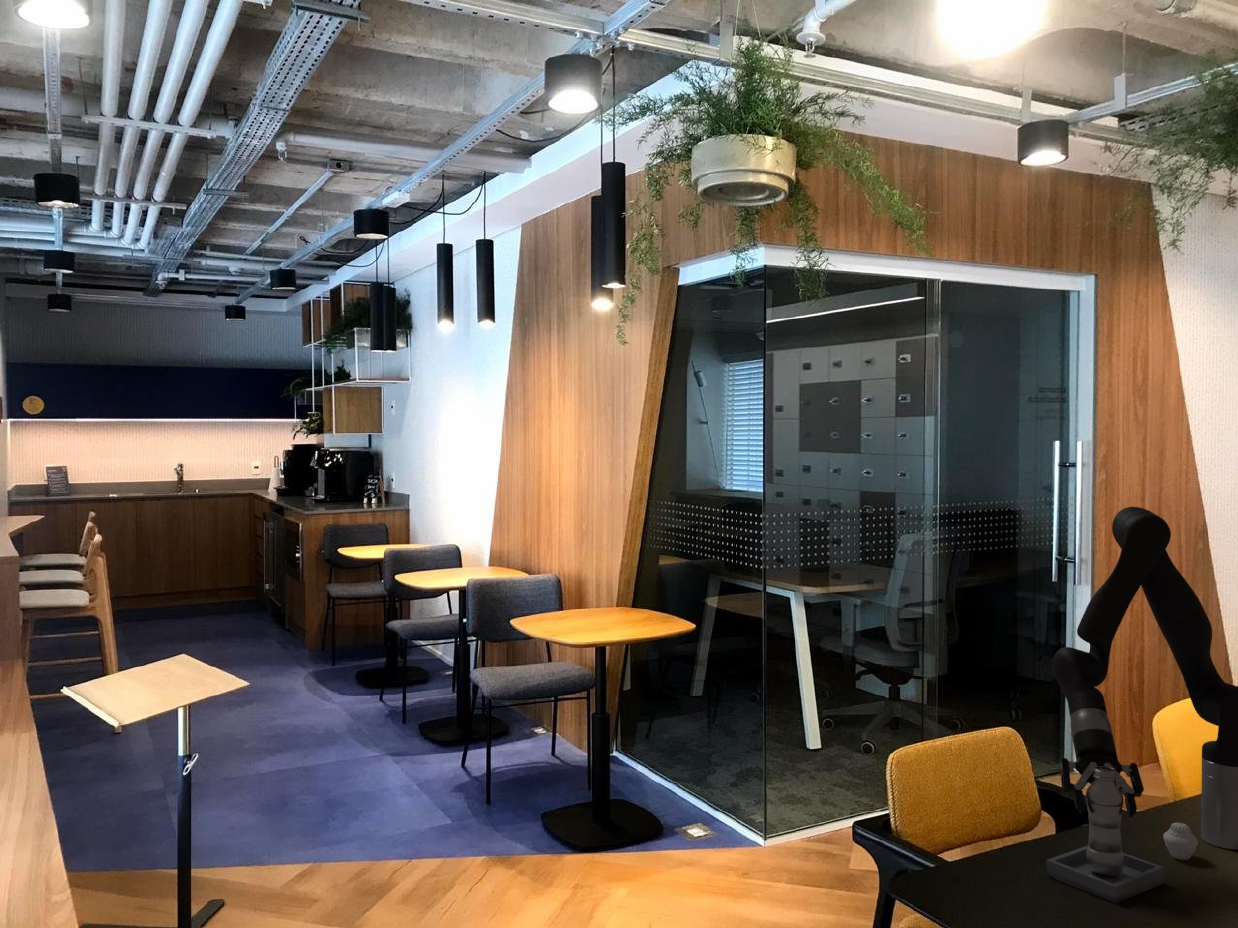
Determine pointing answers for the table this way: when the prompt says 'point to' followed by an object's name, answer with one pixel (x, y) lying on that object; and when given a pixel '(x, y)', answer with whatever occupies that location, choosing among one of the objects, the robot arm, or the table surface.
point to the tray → (1111, 888)
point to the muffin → (1180, 841)
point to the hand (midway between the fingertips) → (1107, 813)
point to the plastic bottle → (1104, 823)
